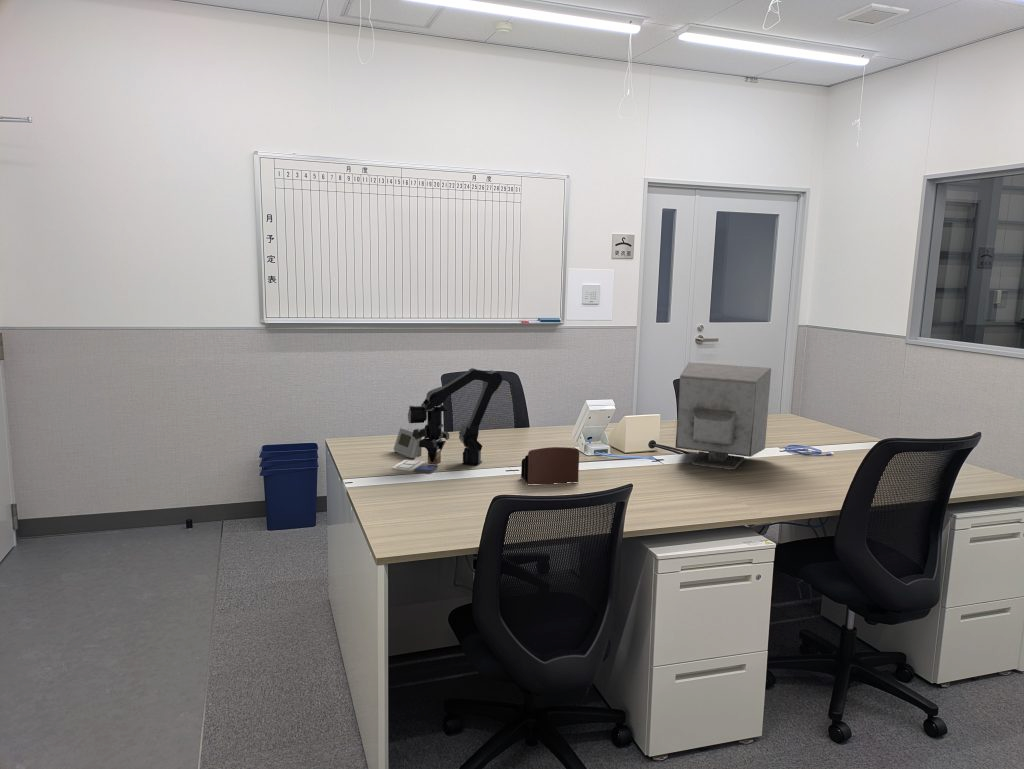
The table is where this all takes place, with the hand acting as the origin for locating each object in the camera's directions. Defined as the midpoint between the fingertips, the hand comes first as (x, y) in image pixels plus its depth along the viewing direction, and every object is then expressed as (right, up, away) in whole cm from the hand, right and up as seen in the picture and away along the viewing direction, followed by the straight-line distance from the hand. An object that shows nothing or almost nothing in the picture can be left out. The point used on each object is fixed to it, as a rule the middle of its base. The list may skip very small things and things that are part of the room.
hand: (434, 460), depth 295 cm
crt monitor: (+117, -3, +16) cm, 118 cm away
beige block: (0, -1, 0) cm, 1 cm away
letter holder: (+45, -6, -16) cm, 49 cm away
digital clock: (-13, 0, +17) cm, 22 cm away
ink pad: (-3, -3, -7) cm, 8 cm away
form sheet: (-10, -2, -1) cm, 10 cm away
